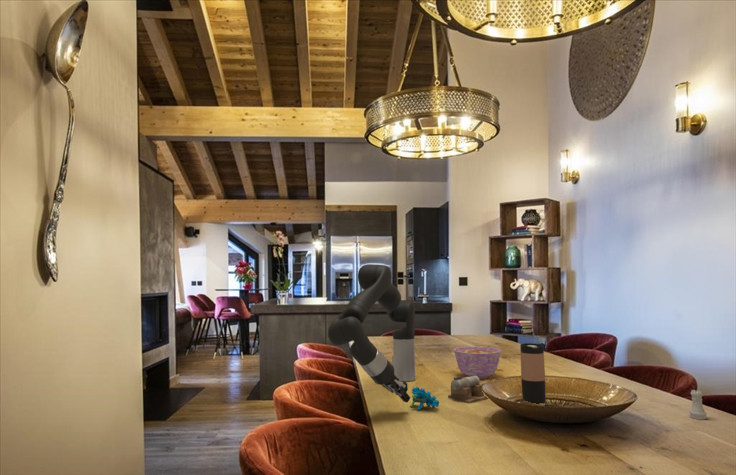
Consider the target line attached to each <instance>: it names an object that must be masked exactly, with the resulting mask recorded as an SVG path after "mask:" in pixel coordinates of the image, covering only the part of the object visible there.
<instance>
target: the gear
mask: <svg viewBox="0 0 736 475" xmlns="http://www.w3.org/2000/svg"><path fill="white" fill-rule="evenodd" d="M411 393H412V395H411V398H412V399H411V400H412V403H411V404H410V406H409V407H410V408H414V404H415V403H418V404H419V405H418V407H417V408H416V410H417V411H421V409H422V407H423V406H424V404H426V406H428V407H430V406H431V407H432V408H438V407H439V405H440V401H439V400H437V396H435V395H432V396H431V394H432V393H431V392H430V391H426V390H425V388H424V387H423V388H422V387H421V388H420V387H419V386H415V387H412V389H411Z"/></svg>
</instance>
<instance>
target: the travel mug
mask: <svg viewBox="0 0 736 475" xmlns="http://www.w3.org/2000/svg"><path fill="white" fill-rule="evenodd" d="M544 349H545V348H544V344H541V343H533V342H532V343H531V342H529V343H525V342H524V343H521V344H520V371H521V372H520V373H521V374H520V378H521V379H520V380H521V393H522V400H523V399H524V400H525V401H528V402H531V403H536V404H539V403H545V404H546V370H545V367H546V366H545V352H544V351H545V350H544Z"/></svg>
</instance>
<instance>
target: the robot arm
mask: <svg viewBox="0 0 736 475" xmlns="http://www.w3.org/2000/svg"><path fill="white" fill-rule="evenodd" d="M357 281H358V284H359V286H360V288H361V289H362V290H361V291H360V292H358V293H357V294H354V296H353V297H352V298H351V299H350V300H349V301H348V304H347V305H346V306H345V308H344V310H343V311H342V312H340V313H339V315H338V316H336V317H335V318H334V319H333V320H332V322H331V323H330V324H329V326H328V330H327V337H328V339H329V341H330V343H332V344H333V345H335V346H342V345H346V344H348V343H350V342H352V343H351V345H350V346H349V353H350V355H351V357H353V359H354V360H355V361H356V362H357V363H358V364H359V365H360V367H361V368H362V369H363V371H364V372H365V373H366V374H367V375H368V376H369V378H371V380H372V381H373V382H374V383H375V384H377V385H381V386H382V387H383V388H385V389H386V390H388V391H389V392H390V393H391V394H393V393H394V394H395V396H398V397H399V398H400V399H401V401H403V403H409V401H410V399H411V396H410V395H409V394H408V393H407V392H408V391H409V388H408V387H409V386H408V383H407V382H412V381H415V380H416V356H415V355H416V353H415V352H416V350H415V349H416V344H415V342H416V341H415V320H416V319H415V318H416V316H415V315H416V314H415V313H416V309H415V304H414V302H413V301H412V300H402V294H401V293H400V291H399V289H398V288H397V287H396V286H395V285H394V284H393V283H392V270H391V268H390V267H389V266H388V265H384V264H370V263H369V264H364V265H362V266H361V267H360V268H359V269H358V272H357ZM376 303H378V305H379V306H381V307H382V308H383V310H384V311H385V312H386V314H387V315H388V318H389V319H390V320H391V322H394V323H405V326H403V328H400V329H397V330H394V331H393V332H392V351H393V353H392V356H391V362H390V360H389V359H387V357H386V356H385V355H384V354H383V353H382V352H381V350H379V349H378V348H377V347H376V346H375V345H374V344H373V343H372V342H371V340H370V338H369V337H368V334H367V333H366V331H365V328H364V326H363V323H364V321H365V319H366V317H367V316H368V314H369V312H370V311H371V309H372V308H373V306H374V305H375V304H376Z"/></svg>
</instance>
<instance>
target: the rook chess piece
mask: <svg viewBox="0 0 736 475" xmlns="http://www.w3.org/2000/svg"><path fill="white" fill-rule="evenodd" d="M690 395H691V400H692V401H691V402H692V403H691V408H690V410H689V414H688V415H689V417H690V418H691V419H694V420H698V421H699V420H700V421H701V420H703V421H704V420H706V419H708V417H707V412H706V411H705V409H704V406H703V398H702V397H703V396H704V394H703V393H702V390H699V389H697V390H696V389H691V392H690Z"/></svg>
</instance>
